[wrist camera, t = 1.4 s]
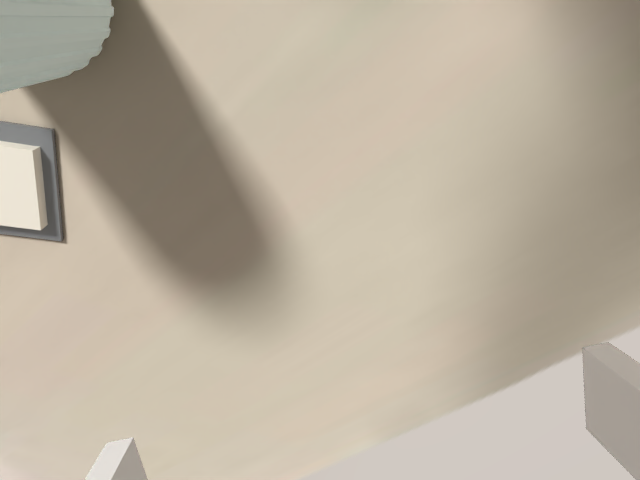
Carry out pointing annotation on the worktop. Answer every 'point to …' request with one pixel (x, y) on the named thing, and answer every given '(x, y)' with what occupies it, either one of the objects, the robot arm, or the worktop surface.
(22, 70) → the vase
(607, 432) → the robot arm
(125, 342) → the worktop surface
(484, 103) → the worktop surface
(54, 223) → the mat with cloth
